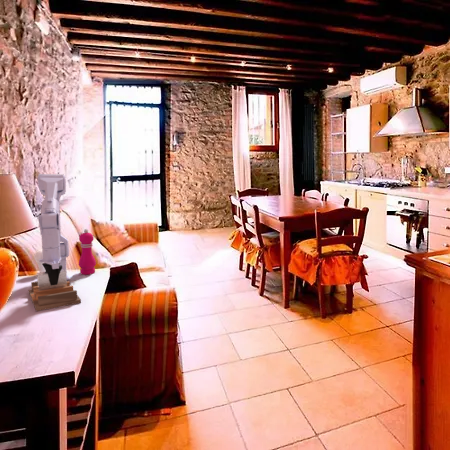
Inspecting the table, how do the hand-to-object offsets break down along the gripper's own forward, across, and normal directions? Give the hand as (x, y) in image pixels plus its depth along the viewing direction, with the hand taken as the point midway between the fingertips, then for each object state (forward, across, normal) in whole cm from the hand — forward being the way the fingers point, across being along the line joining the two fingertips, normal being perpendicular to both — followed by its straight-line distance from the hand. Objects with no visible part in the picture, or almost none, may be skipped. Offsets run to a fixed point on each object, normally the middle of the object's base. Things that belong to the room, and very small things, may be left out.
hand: (53, 283), depth 126 cm
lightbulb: (+6, -33, +1) cm, 33 cm away
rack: (+5, 0, 0) cm, 5 cm away
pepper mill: (+6, -25, +18) cm, 31 cm away
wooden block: (+4, 0, 0) cm, 4 cm away
